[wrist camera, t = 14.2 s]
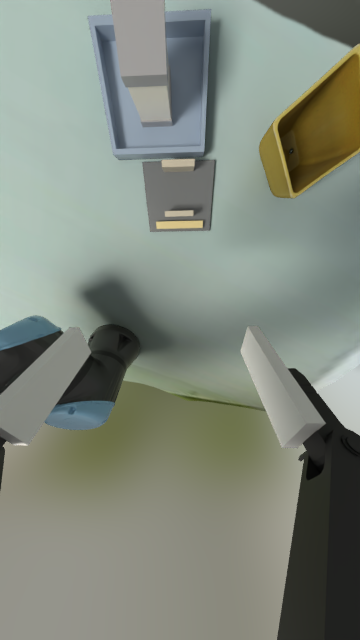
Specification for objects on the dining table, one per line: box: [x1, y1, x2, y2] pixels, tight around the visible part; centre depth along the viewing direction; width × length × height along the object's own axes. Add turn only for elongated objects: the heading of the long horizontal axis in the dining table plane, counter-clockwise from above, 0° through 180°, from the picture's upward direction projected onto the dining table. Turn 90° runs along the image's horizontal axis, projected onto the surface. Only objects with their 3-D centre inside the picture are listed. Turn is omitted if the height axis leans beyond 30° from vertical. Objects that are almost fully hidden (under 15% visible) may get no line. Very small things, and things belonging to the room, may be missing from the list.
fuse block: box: [142, 159, 215, 232], centre depth 27 cm, size 12×10×4 cm
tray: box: [88, 9, 211, 160], centre depth 21 cm, size 14×11×2 cm
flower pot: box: [259, 44, 360, 198], centre depth 21 cm, size 9×9×9 cm
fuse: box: [110, 0, 172, 127], centre depth 18 cm, size 4×4×10 cm
